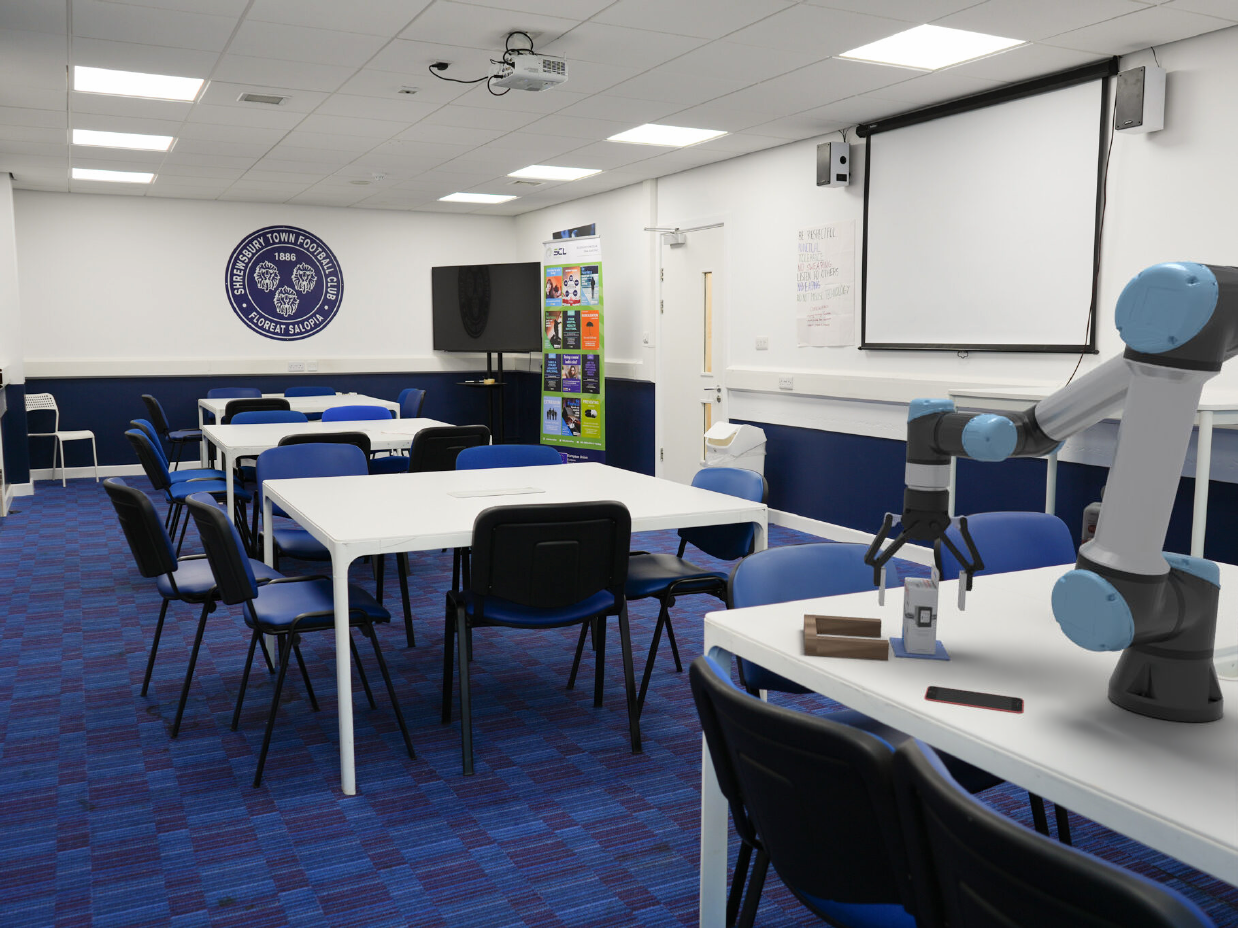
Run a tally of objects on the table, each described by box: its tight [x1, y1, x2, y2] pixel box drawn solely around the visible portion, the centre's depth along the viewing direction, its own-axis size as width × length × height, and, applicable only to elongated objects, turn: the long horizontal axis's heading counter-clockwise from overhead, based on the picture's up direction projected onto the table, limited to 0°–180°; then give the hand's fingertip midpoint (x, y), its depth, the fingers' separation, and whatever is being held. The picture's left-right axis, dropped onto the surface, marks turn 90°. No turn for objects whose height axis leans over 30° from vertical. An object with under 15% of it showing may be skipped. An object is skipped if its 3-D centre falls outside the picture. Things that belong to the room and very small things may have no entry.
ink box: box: [901, 562, 940, 655], centre depth 172 cm, size 9×5×15 cm, turn 170°
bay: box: [803, 613, 890, 661], centre depth 175 cm, size 16×14×3 cm
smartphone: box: [923, 685, 1025, 715], centre depth 148 cm, size 7×1×14 cm
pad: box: [889, 636, 951, 661], centre depth 173 cm, size 11×9×1 cm
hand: (920, 606), depth 172 cm, fingers open, 13 cm apart
